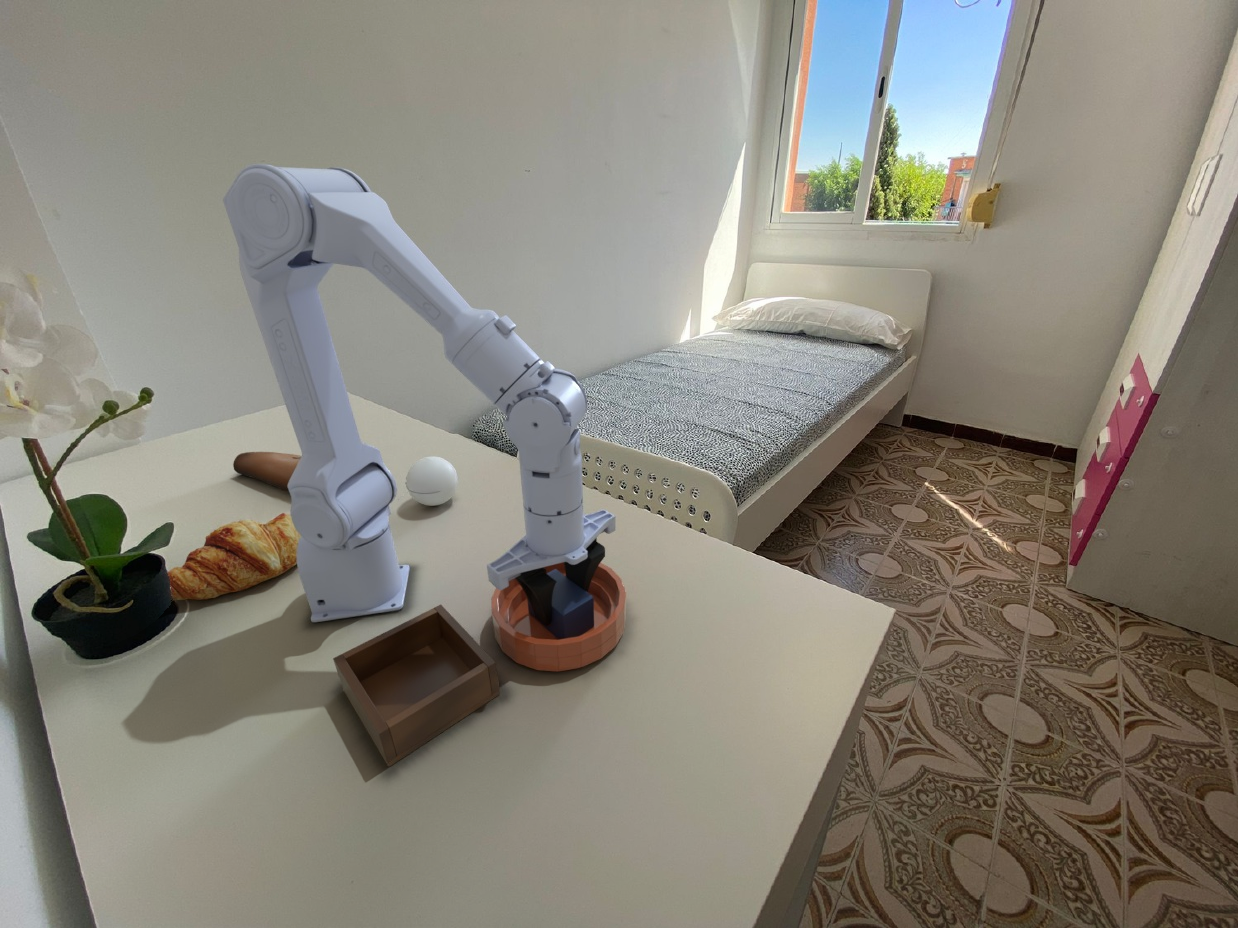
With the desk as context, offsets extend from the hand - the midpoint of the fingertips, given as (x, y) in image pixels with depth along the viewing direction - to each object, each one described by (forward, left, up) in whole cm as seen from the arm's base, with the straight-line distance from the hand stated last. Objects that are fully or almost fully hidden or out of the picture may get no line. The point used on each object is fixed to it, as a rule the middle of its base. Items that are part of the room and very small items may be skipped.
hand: (560, 609), depth 58 cm
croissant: (-35, +18, -2) cm, 39 cm away
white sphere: (-16, +29, -2) cm, 33 cm away
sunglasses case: (-38, +43, -2) cm, 57 cm away
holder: (-14, -6, -2) cm, 15 cm away
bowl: (0, 0, -2) cm, 2 cm away
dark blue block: (0, 0, -1) cm, 1 cm away
